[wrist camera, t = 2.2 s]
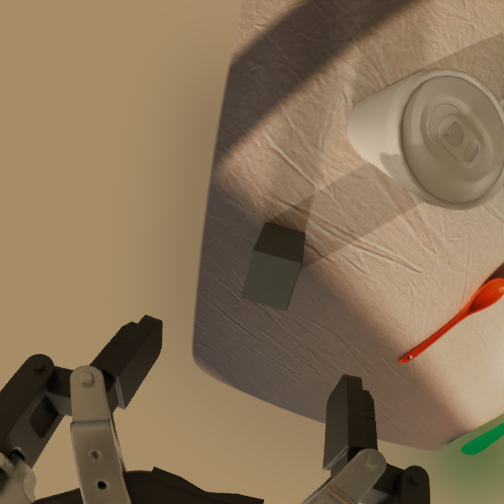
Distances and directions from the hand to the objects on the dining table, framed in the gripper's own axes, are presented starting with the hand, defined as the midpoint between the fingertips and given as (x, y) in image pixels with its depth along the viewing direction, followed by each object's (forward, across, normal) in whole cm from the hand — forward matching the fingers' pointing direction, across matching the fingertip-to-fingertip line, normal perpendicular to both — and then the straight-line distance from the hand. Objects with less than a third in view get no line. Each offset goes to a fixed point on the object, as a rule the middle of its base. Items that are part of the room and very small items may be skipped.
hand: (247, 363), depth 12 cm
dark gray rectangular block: (+12, 0, 0) cm, 12 cm away
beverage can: (+12, -4, -11) cm, 17 cm away
